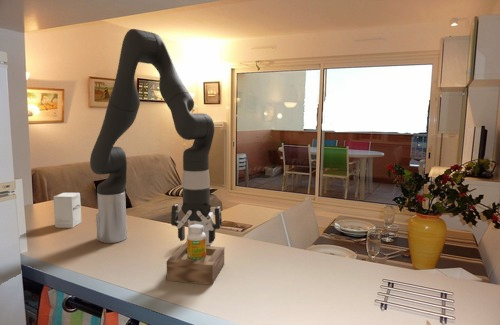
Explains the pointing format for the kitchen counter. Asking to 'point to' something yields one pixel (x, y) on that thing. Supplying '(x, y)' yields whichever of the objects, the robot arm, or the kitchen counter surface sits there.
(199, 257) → the supplement bottle
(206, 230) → the small box
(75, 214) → the supplement box
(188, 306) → the kitchen counter surface
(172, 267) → the walnut tray
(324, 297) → the kitchen counter surface
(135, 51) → the robot arm
